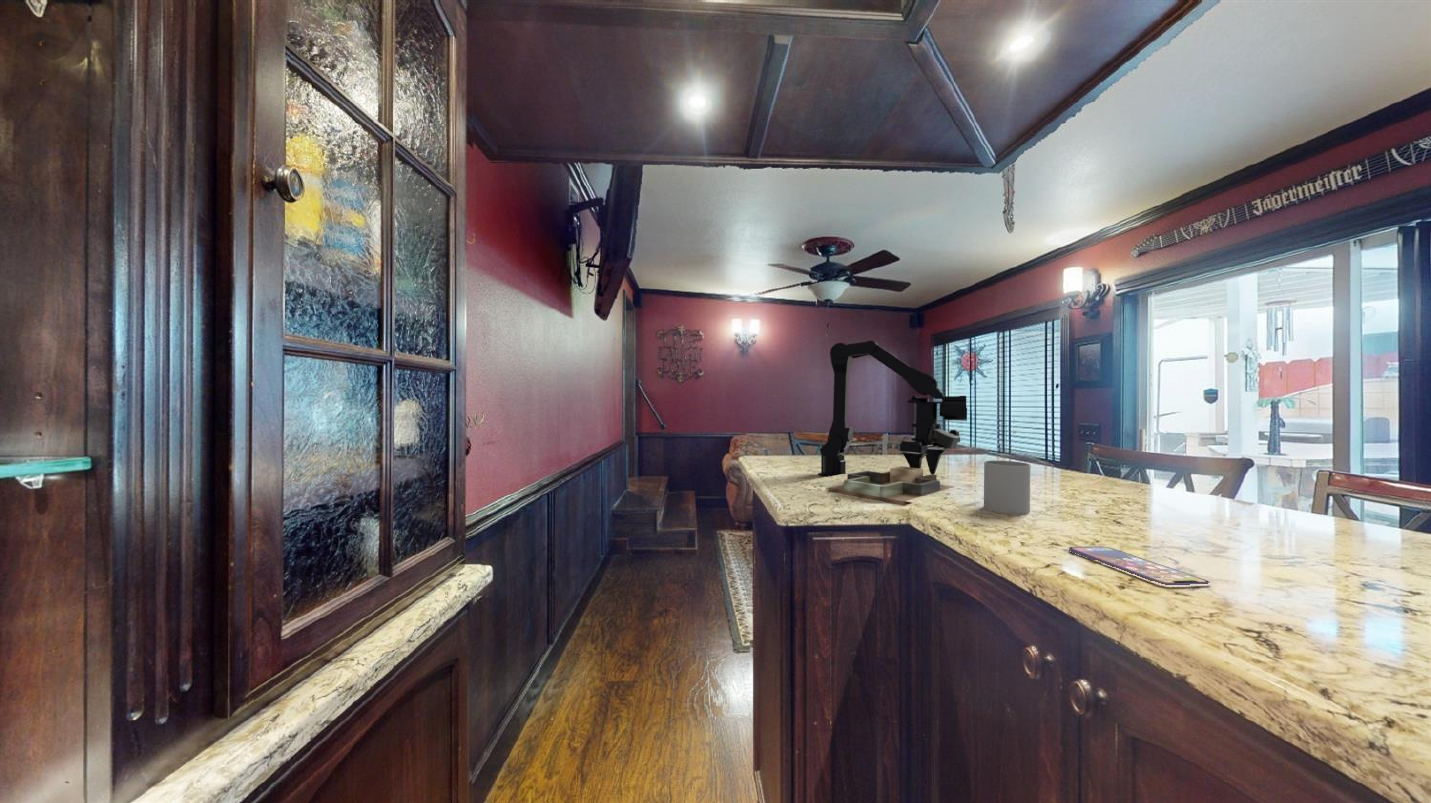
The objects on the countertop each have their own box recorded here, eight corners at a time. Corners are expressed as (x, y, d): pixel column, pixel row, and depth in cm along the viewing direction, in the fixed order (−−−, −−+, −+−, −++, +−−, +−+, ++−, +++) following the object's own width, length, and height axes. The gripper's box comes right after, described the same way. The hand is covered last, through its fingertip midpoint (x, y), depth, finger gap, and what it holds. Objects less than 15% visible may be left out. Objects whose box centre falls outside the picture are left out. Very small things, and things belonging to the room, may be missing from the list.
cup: (1017, 505, 106) (1017, 460, 106) (1038, 515, 98) (1038, 466, 98) (977, 504, 107) (977, 460, 107) (994, 514, 99) (995, 465, 99)
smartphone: (1106, 551, 77) (1215, 589, 62) (1064, 552, 76) (1164, 591, 61) (1106, 546, 77) (1215, 582, 62) (1064, 546, 76) (1165, 584, 61)
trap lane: (828, 491, 121) (828, 477, 121) (882, 479, 138) (882, 467, 138) (903, 505, 106) (903, 489, 106) (954, 490, 123) (954, 477, 123)
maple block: (890, 483, 127) (890, 468, 127) (901, 480, 131) (901, 466, 131) (911, 486, 122) (912, 471, 122) (923, 483, 126) (923, 468, 126)
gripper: (939, 422, 121) (939, 483, 121) (969, 420, 133) (969, 476, 134) (898, 420, 130) (897, 477, 130) (930, 418, 142) (929, 471, 142)
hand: (925, 475), depth 134 cm, fingers open, 9 cm apart
